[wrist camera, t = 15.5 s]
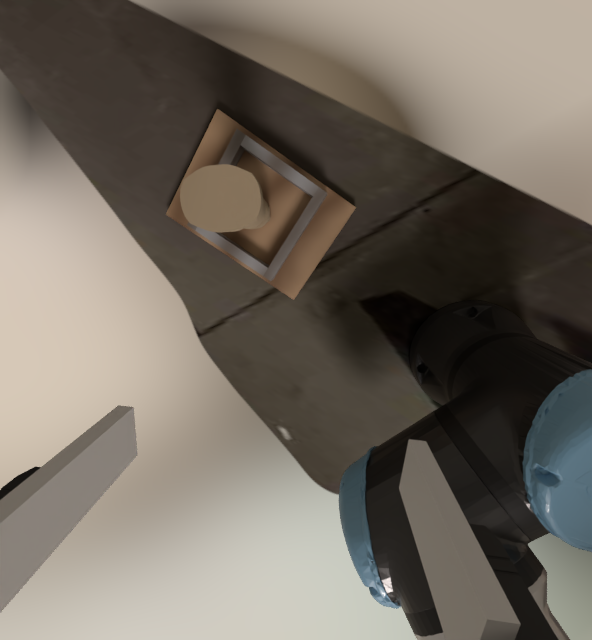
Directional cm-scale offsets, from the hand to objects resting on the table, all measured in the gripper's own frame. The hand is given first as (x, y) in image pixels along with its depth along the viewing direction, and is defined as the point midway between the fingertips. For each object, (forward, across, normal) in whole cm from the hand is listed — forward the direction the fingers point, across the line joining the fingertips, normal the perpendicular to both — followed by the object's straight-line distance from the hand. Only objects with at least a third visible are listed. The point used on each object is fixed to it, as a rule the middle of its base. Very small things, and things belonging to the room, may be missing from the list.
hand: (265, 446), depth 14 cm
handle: (+27, -7, +12) cm, 31 cm away
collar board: (+28, -7, +13) cm, 32 cm away
